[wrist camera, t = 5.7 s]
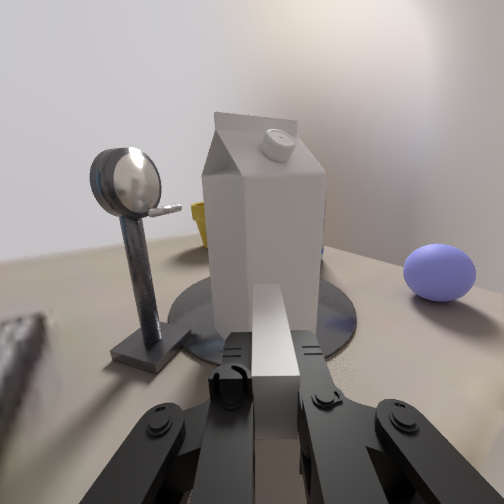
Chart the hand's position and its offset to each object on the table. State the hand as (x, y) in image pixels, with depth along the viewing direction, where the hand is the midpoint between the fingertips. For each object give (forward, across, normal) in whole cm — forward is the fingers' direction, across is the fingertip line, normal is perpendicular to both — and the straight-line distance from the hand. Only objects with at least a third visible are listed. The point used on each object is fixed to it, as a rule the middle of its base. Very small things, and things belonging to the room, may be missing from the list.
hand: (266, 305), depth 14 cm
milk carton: (+8, 0, -8) cm, 11 cm away
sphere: (+15, +21, -8) cm, 28 cm away
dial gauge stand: (+7, -10, -8) cm, 15 cm away
